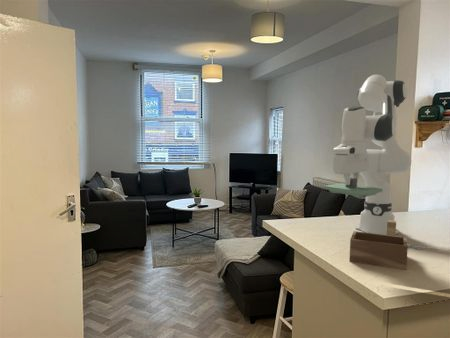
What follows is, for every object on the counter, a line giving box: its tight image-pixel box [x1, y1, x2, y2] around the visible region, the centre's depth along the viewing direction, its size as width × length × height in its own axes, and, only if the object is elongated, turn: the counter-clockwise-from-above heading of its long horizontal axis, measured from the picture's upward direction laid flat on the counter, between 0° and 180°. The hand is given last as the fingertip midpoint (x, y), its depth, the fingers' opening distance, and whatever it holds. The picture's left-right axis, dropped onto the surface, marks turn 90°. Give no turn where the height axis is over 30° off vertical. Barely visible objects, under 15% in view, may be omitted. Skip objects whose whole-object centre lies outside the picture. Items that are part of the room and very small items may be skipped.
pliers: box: [407, 243, 438, 251], centre depth 144 cm, size 10×2×15 cm
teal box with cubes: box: [323, 177, 382, 198], centre depth 138 cm, size 12×18×6 cm, turn 40°
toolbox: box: [349, 230, 409, 271], centre depth 127 cm, size 12×18×9 cm, turn 65°
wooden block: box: [387, 220, 397, 236], centre depth 136 cm, size 3×3×13 cm
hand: (351, 184), depth 139 cm, fingers closed on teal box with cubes, 3 cm apart
